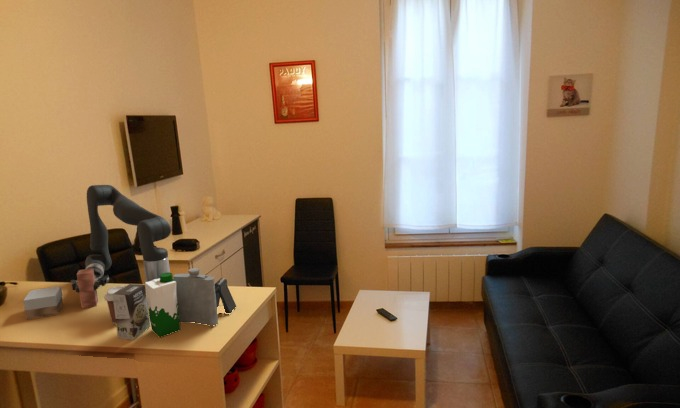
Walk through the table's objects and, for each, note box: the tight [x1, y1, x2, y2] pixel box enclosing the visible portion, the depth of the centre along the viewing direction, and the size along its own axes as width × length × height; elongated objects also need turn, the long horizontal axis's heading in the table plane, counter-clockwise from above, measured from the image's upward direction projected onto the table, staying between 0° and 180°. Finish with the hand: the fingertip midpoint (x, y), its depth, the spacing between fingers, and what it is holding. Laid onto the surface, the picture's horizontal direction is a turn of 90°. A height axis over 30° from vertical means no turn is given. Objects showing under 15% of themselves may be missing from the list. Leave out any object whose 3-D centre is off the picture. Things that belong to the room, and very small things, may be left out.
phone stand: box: [215, 277, 237, 314], centre depth 163 cm, size 9×6×12 cm, turn 82°
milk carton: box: [144, 272, 181, 338], centre depth 148 cm, size 9×9×20 cm
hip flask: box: [172, 267, 219, 327], centre depth 153 cm, size 16×4×20 cm, turn 73°
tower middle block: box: [22, 285, 63, 312], centre depth 165 cm, size 10×10×4 cm
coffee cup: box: [103, 285, 126, 325], centre depth 157 cm, size 9×9×12 cm
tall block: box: [76, 268, 99, 309], centre depth 170 cm, size 5×5×14 cm
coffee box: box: [113, 283, 151, 341], centre depth 147 cm, size 9×6×16 cm
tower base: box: [24, 296, 64, 321], centre depth 166 cm, size 10×10×4 cm
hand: (86, 289), depth 168 cm, fingers closed on tall block, 5 cm apart
